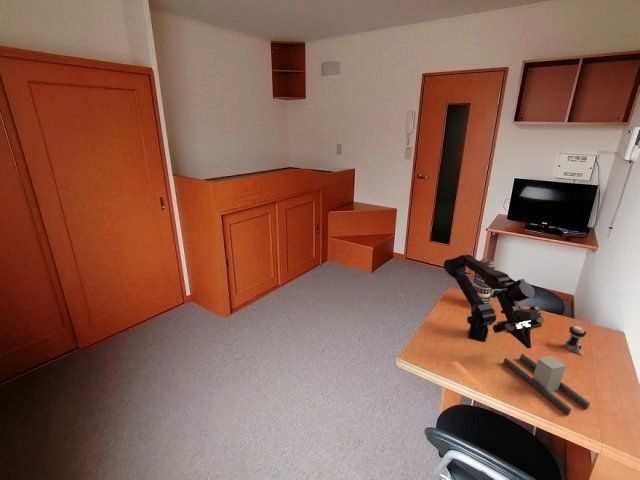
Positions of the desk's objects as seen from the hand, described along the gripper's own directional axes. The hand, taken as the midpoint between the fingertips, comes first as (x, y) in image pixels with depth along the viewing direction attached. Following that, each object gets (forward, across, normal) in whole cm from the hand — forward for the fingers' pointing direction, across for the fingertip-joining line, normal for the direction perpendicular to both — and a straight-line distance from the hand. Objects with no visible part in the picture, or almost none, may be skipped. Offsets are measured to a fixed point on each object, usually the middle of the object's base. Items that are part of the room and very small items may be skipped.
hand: (529, 348), depth 113 cm
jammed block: (+12, 0, +1) cm, 12 cm away
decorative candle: (-23, +20, +38) cm, 48 cm away
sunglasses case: (-10, +25, +25) cm, 37 cm away
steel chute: (+13, 0, +2) cm, 13 cm away
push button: (+5, +31, +11) cm, 33 cm away
